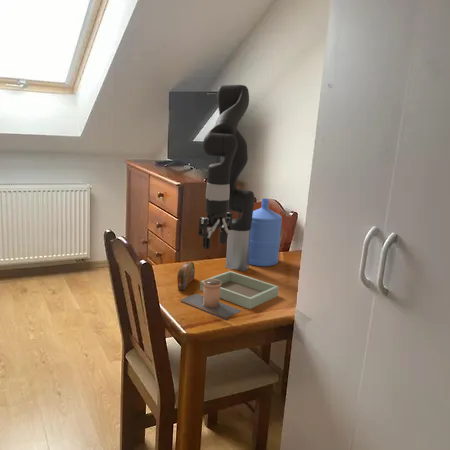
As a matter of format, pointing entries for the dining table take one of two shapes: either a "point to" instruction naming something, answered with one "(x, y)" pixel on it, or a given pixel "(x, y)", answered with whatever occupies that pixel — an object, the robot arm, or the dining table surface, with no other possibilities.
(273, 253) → the water jug
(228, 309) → the slate tile
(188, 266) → the tin
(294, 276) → the dining table surface
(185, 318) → the dining table surface
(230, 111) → the robot arm
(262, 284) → the pale green tray
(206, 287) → the clay pot
